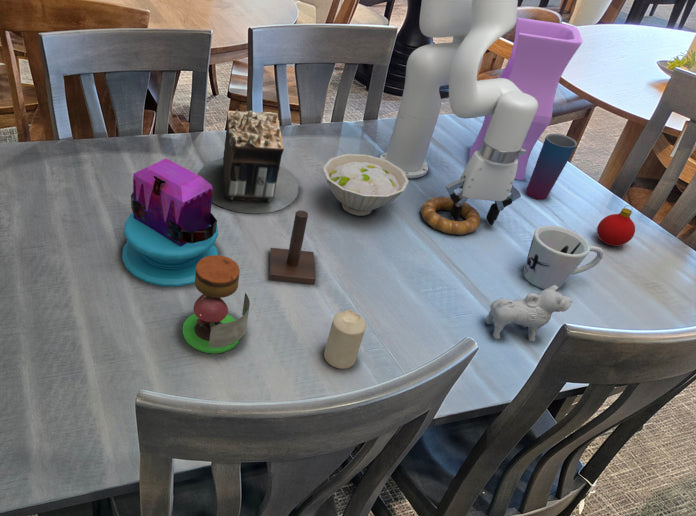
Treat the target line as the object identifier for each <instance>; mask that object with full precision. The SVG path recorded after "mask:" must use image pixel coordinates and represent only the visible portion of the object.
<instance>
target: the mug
mask: <svg viewBox="0 0 696 516" xmlns="http://www.w3.org/2000/svg"><path fill="white" fill-rule="evenodd" d="M590 252H595V253H596V256H595V257H594V258H593V259H592V260H591V261H590V262H588V263H585V264H583V265H581V266H580V264H581V263H582V262H583V261H584V260H585V258H586V257H587V256H589V254H590ZM603 258H604V250H603V249H602V248H601V247H599V246H596V245H590V243H589V241H588V240H587V239H586V238H585V237H584V236H583V235H581V234H579V233H578V232H575V231H573V230H571V229H569V228H566V227H562V226H558V225H557V226H556V225H543V226H539V227H537V229H535V230H534V233H533V235H532V239H531V243H530V245H529V250H528V253H527V256H526V261H525V264H524V267H523V273H522V274H523V277H524V278H525V280H526V281H527V282H528V283H530V284H531V285H532V286H535V287H537V288H538V289H539V288H540V289H543V290H545V289H547V288H549V287H551V286H553V285H556V286H557V287H558V289H560V288H561V287H562V286H563V285H564V284H565V282H567V281H568V279H569V278H570V277H571V276H572V275H573V276H574V275H577V274H581V273H583V272H586V271H589V270H591V269H592V268H594V267H596V266H597V265H598V264H600V262H601V261H602V260H603Z"/></svg>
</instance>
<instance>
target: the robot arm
mask: <svg viewBox="0 0 696 516" xmlns="http://www.w3.org/2000/svg"><path fill="white" fill-rule="evenodd" d="M518 3H519V0H421V5H420V10H419V11H420V12H419V24H418V25H419V30H420V32H421V34H422V35H423V36H425V37H427V38H431V39H433V38H434V39H435V38H438V39H439V38H451V37H452V41H451V42H438V43H428V44H425V45H422V46H419V47H417V48H416V49H414V50H413V51H412V52H411V53H410V55H409V56H408V58H407V61H406V67H405V79H404V87H403V92H402V95H401V100H400V104H399V107H398V111H397V114H396V118H395V122H394V126H393V129H392V133H391V136H390V140H389V144H388V148H387V150H386V152H384V153H382V154H381V155H380V156H379V158H380V159H384V160H387V161H389V162H390V163H392V164H394V165H395V166H397V167H399V168H400V169H402V170H403V172H404V174H405V175H406V177H407V179H418V178H421V177H424V176H425V175H426V174H427V173H428V171H429V165H428V162H426V160H425V159H426V156H427V153H428V151H429V146H430V143H431V141H432V138H433V134H434V131H435V128H436V125H437V121H438V118H439V115H440V112H441V109H442V97H441V94H440V89H441V87H443V86H448V102H449V106H450V109H451V111H452V113H453V114H454V115H455V116H456V117H457V118H459V119H466V120H467V119H474V118H482V117H485V116H492V119H491V122H490V124H489V127H488V129H487V132H486V135H485V137H484V140H483V143H482V145H481V148H480V151H475V152H474V154H473V155H472V157H471V158H470V160H469V159H468V161H467V164H466V165H465V167H464V169H463V172H462V173H461V176H460V178H459V179H457V180H454V181H452V182H450V183H449V184H446V186H445V190H446V192H447V193H448V195H449V198H451V199H452V200H453V202H454V204H453V207H452V209H451V211H450V216H451V218H452V221H459V219H460V216H461V215H460V214H461V211H462V204H463V203H464V202H466V203H467V201H468V200H478V201H480V200H481V201H491V202H494V203H491V205H490V207H489V209H488V211H487V214H486V216H485V219H486V221H487V223H488V225H489V226H493V225H494V223H495V221H497V220H498V217H499V215H500V212H502V211H504V209H505V208H507V207H508V206H510V205H512V204H513V202H515V201H517V200H518V199H520V198H521V197H522V194H521V193H520V191H519V190H518V189H517V187H515V185H514V181H515V180H516V179H515V175H516V171H517V166H518V160H517V159H518V156H519V155H521V154H522V155H524V154H525V153H526V149H525V148H521V147H522V144H523V142H524V140H525V137H526V135H527V133H528V130H529V128H530V126H531V123H532V121H533V119H534V116H535V114H536V111H537V109H538V102H537V100H536V99H535V98H534V97H533V96H531V95H528V94H526V93H523V92H522V91H521V90H520V89H519V88H518V87H517V86H516V85H515V84H514V83H513V82H512V81H510V80H508V79H505V78H499V77H498V78H497V77H496V78H487V79H479V80H478V73H479V72H480V69H481V67H482V64H483V58H484V55H485V54H486V52H487V50H488V49H490V47H491V46H492V45H493V44H494V43H495V42H496V41H498V40H499V39H500V38H501V37H503V36H505V34H506V35H507V33H509V32H510V31H512V29H514V28H515V27H516V22H517V18H518ZM457 189H460V191H459V192H457V193H456V192H455V191H456V190H457Z"/></svg>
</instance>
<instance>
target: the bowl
mask: <svg viewBox="0 0 696 516" xmlns="http://www.w3.org/2000/svg"><path fill="white" fill-rule="evenodd" d="M322 169H323V172H324V175H325V179H326V182H327V184H328V187H329V189H330V191H331V193H332V194H333V195H334V197H335V198H336V200H338V201H339V202H340V203H341V206H342V209H343V210H344V211H345V212H347V213H349V214H351V215H355V216H367V215H370V214H371V213H372V212H373V210H377V209H380V208H382V207H383V206H386V205H387V204H390V203H391V202H393V201H395V200H396V199H397V198H398V197H399V196H400V195H401V194H403V192H404V191H405V190H406V187H407V185H408V184H409V182H410V181H409V178H407V177H406V175H405V174H404V172H403V170H402V169H400V168H399V167H397V166H395V165H394V164H392V163H390V162H389V161H387V160H384V159H380V157H376V156H373V155H369V154H357V153H355V154H354V153H353V154H352V153H344V154H341V155H338V156H334V157H331V158H329V159H328V160H327V162H326V163H325V165H324V166H323V167H322Z"/></svg>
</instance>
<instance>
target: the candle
mask: <svg viewBox="0 0 696 516" xmlns="http://www.w3.org/2000/svg"><path fill="white" fill-rule="evenodd" d="M366 329H367V323H366V321H365V319H364V318H363V317H362V316H361V315H360V314H359V313H357V312H355V311H353V310H351V309H345V310H343V311H339V312H337V313H335V314H334V315H333V318H332V321H331V325H330V329H329V332H328V337H327V339H326V345H325V348H324V352H323V355H324V360H325V361H326V362H327V364H328V365H330V366H332V367H334V368H337V369H341V370H342V369H343V370H344V369H349V368H351V367H352V366H354V364H355V362H356V360H357V358H358V354H359V351H360V348H361V344H362V341H363V338H364V335H365V331H366Z"/></svg>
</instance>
